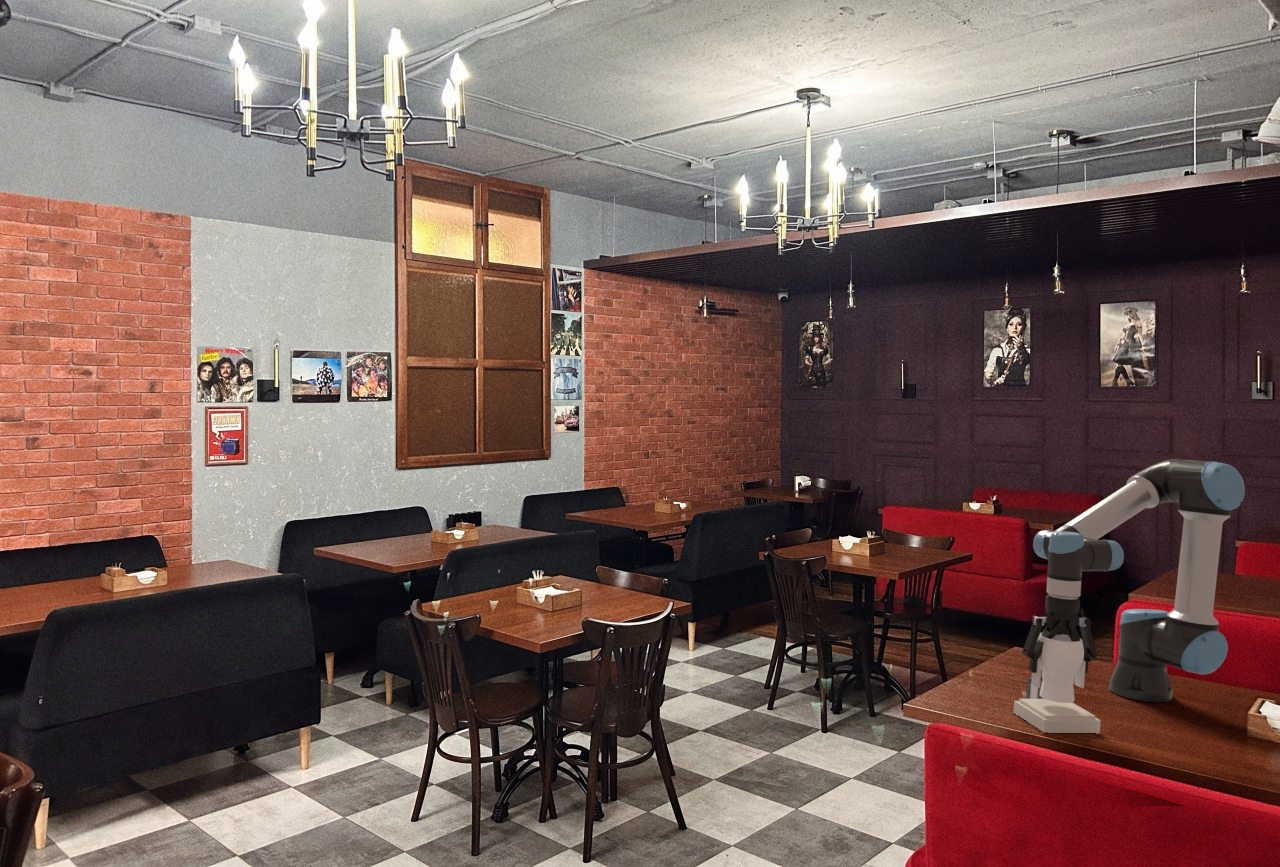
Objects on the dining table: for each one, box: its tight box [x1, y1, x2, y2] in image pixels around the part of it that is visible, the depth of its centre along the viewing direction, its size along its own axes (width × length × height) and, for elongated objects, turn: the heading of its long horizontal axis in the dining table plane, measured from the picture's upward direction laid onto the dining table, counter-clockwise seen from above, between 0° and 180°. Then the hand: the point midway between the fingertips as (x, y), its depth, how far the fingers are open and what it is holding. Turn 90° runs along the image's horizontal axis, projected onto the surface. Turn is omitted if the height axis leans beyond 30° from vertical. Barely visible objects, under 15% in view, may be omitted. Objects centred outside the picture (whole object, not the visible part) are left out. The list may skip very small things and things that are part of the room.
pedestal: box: [1013, 698, 1102, 735], centre depth 225 cm, size 14×14×4 cm
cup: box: [1038, 632, 1085, 703], centre depth 225 cm, size 11×11×15 cm
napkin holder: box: [1025, 675, 1044, 699], centre depth 239 cm, size 10×4×7 cm, turn 116°
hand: (1057, 686), depth 225 cm, fingers closed on cup, 11 cm apart
